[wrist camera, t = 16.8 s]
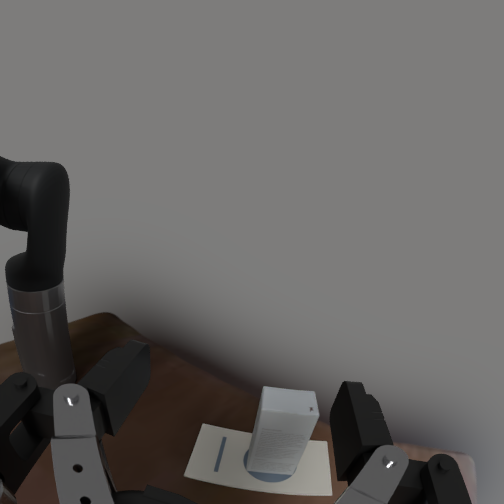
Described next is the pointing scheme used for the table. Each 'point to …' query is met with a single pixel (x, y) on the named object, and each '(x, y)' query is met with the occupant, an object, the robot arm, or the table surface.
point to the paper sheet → (235, 474)
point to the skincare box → (281, 430)
